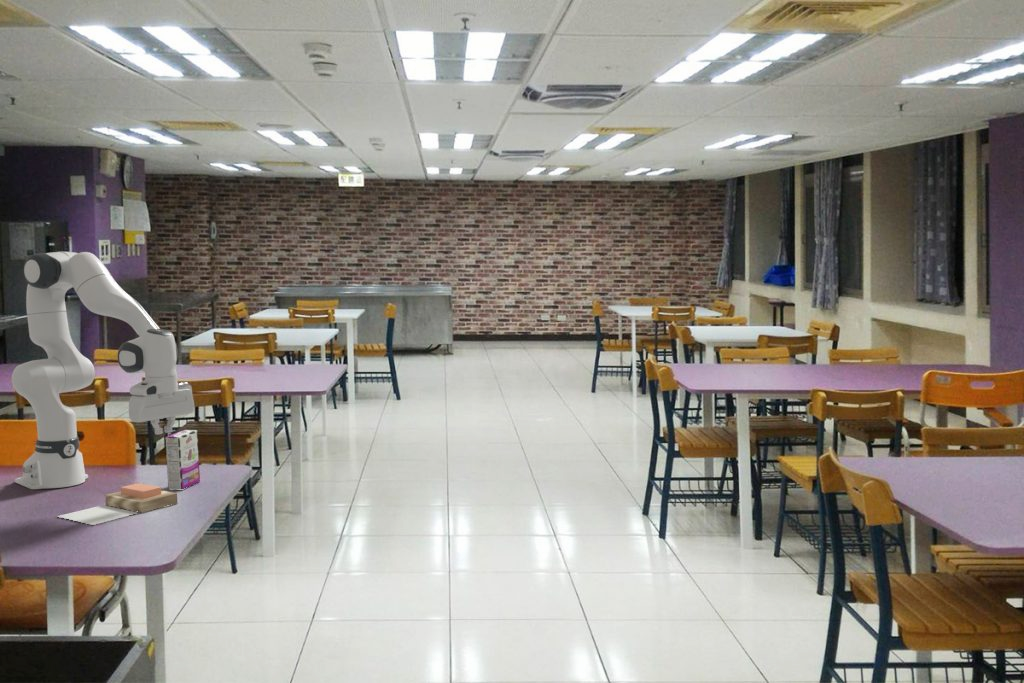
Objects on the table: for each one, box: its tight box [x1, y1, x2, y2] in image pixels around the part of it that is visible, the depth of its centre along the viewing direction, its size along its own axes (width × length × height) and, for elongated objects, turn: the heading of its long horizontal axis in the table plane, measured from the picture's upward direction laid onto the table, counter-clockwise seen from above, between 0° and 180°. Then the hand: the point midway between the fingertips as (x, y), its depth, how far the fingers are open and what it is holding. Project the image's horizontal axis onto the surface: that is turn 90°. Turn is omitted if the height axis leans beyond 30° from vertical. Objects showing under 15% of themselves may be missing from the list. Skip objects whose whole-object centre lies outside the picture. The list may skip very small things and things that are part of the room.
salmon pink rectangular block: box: [120, 482, 162, 499], centre depth 295 cm, size 10×6×2 cm, turn 56°
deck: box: [104, 489, 178, 513], centre depth 295 cm, size 16×12×3 cm
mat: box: [56, 505, 138, 526], centre depth 283 cm, size 16×14×1 cm
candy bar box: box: [164, 429, 201, 490], centre depth 316 cm, size 11×5×16 cm, turn 168°
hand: (163, 433), depth 300 cm, fingers closed
